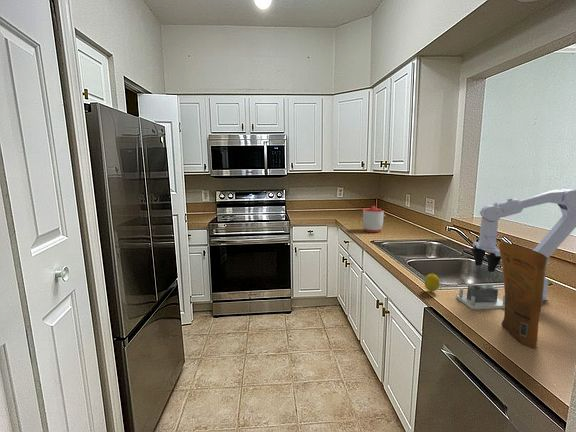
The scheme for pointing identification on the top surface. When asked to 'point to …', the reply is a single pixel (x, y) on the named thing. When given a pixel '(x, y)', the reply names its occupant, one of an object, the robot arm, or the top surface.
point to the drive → (482, 293)
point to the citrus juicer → (373, 219)
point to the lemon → (432, 282)
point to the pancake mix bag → (522, 291)
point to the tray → (482, 304)
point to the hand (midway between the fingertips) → (484, 268)
